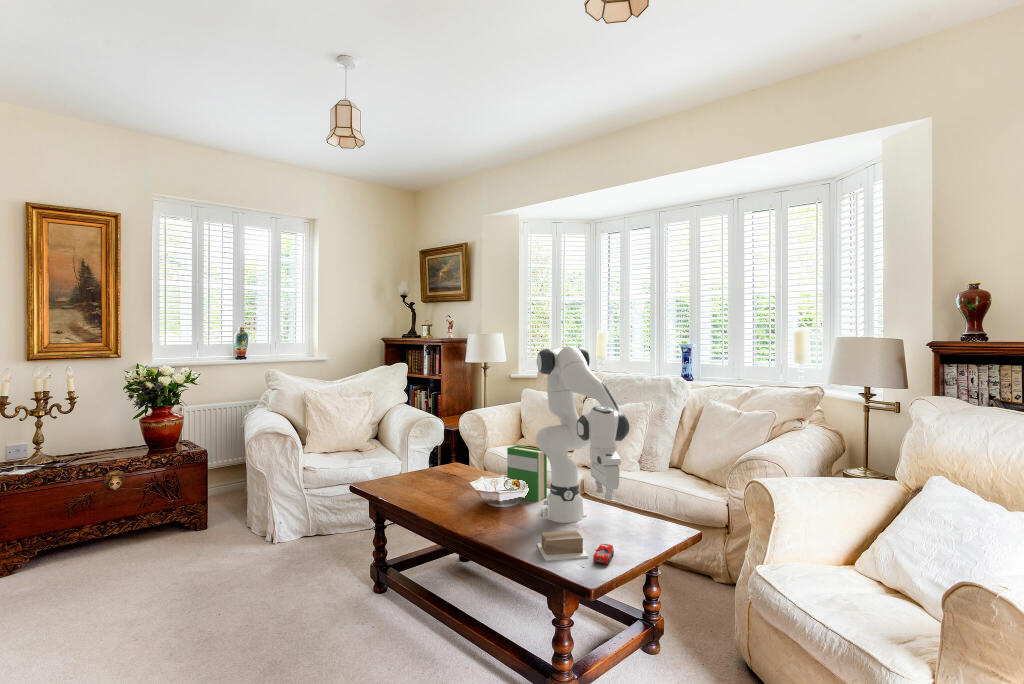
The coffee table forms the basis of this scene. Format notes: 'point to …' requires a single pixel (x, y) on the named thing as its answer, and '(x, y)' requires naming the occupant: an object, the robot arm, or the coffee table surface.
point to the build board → (562, 555)
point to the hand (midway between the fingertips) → (604, 496)
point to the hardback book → (528, 470)
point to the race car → (603, 553)
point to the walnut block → (561, 542)
